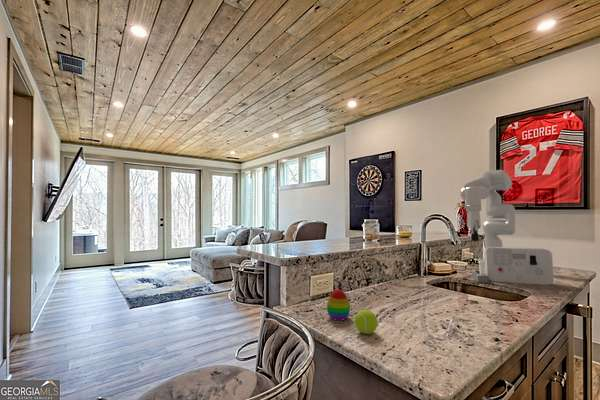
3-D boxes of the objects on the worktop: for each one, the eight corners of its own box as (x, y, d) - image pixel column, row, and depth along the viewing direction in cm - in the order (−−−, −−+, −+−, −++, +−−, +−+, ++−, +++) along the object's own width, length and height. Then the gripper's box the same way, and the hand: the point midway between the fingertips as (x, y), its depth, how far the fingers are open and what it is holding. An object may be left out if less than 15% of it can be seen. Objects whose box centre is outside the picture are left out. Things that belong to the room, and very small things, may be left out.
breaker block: (471, 276, 165) (471, 270, 165) (481, 276, 164) (481, 270, 164) (477, 282, 151) (477, 275, 151) (488, 283, 150) (488, 276, 150)
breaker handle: (478, 276, 155) (478, 260, 155) (483, 276, 154) (483, 260, 154) (480, 277, 152) (479, 261, 152) (485, 278, 151) (484, 261, 152)
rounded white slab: (488, 282, 152) (487, 248, 153) (485, 279, 159) (484, 246, 160) (556, 286, 142) (554, 250, 142) (548, 283, 149) (547, 248, 150)
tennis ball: (366, 326, 94) (365, 305, 95) (382, 334, 88) (381, 311, 89) (350, 331, 91) (349, 309, 91) (366, 339, 85) (365, 316, 85)
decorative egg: (322, 318, 102) (322, 290, 103) (335, 312, 108) (334, 285, 109) (342, 323, 97) (341, 294, 97) (354, 317, 103) (353, 289, 104)
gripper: (463, 208, 170) (464, 239, 170) (469, 208, 156) (470, 242, 155) (477, 208, 168) (479, 239, 167) (485, 208, 153) (486, 242, 153)
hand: (474, 240), depth 161 cm, fingers closed
